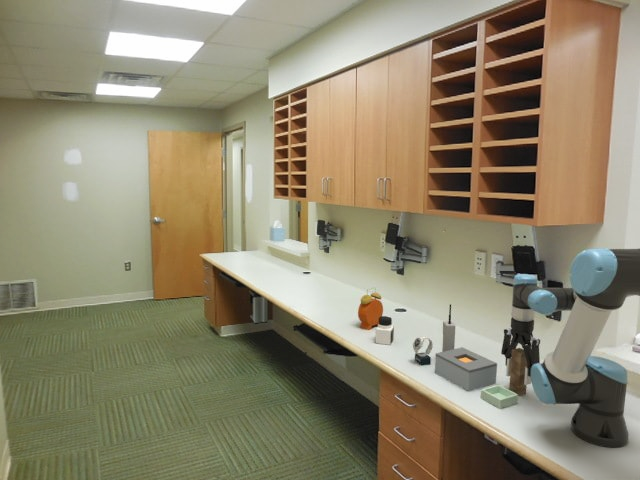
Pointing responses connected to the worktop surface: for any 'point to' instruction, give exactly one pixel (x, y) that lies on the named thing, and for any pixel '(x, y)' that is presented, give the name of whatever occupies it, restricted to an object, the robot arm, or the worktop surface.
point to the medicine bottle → (385, 331)
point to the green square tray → (499, 396)
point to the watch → (422, 357)
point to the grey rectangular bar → (448, 334)
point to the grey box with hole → (466, 369)
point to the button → (465, 359)
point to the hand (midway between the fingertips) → (518, 379)
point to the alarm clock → (370, 310)
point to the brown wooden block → (518, 372)
